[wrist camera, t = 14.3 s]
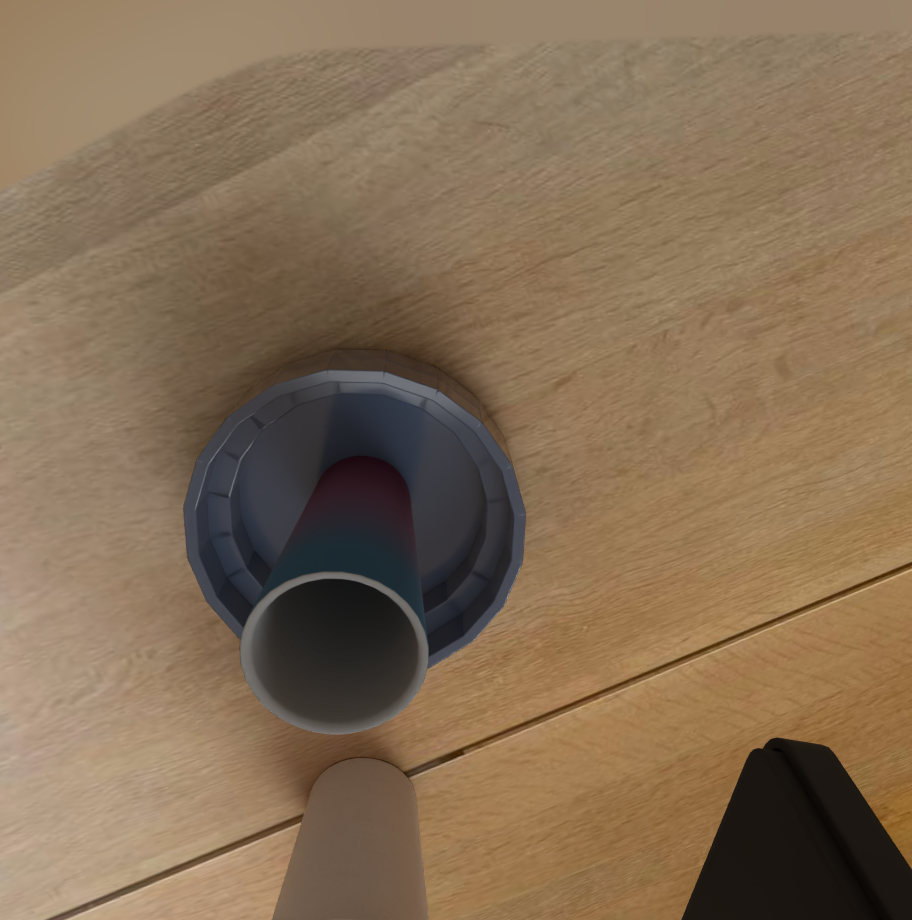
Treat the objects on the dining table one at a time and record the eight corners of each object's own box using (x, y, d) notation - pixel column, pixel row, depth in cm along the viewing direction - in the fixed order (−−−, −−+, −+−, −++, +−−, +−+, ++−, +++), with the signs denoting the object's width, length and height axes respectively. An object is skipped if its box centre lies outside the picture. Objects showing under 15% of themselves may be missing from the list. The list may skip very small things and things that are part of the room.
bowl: (200, 342, 42) (172, 365, 38) (523, 351, 43) (535, 374, 38) (218, 628, 48) (195, 679, 43) (506, 631, 49) (514, 682, 44)
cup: (433, 552, 46) (437, 726, 32) (307, 564, 46) (255, 743, 32) (420, 433, 44) (419, 563, 30) (288, 444, 44) (224, 580, 30)
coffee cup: (397, 882, 54) (388, 1137, 40) (259, 829, 53) (198, 1076, 38) (469, 772, 52) (485, 1003, 38) (325, 712, 50) (286, 931, 36)
